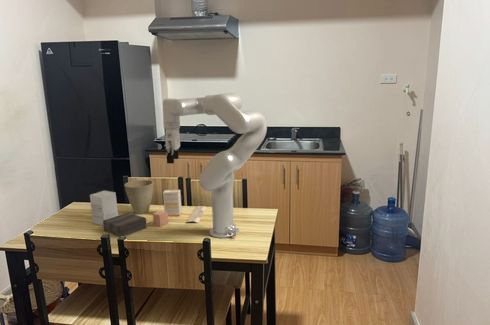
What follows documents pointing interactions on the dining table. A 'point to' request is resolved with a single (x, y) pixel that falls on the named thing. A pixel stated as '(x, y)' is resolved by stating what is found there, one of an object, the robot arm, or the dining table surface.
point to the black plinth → (124, 224)
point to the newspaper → (196, 214)
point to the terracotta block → (160, 218)
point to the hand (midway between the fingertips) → (172, 161)
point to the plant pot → (140, 195)
